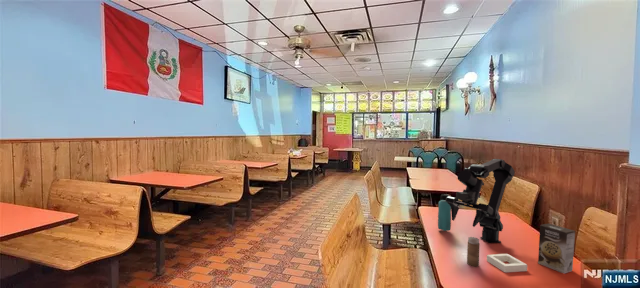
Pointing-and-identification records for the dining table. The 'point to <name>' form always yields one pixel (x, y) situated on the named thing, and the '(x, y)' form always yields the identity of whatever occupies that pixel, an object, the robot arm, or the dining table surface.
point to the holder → (512, 267)
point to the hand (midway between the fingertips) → (462, 223)
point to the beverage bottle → (444, 214)
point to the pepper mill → (473, 252)
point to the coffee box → (556, 247)
